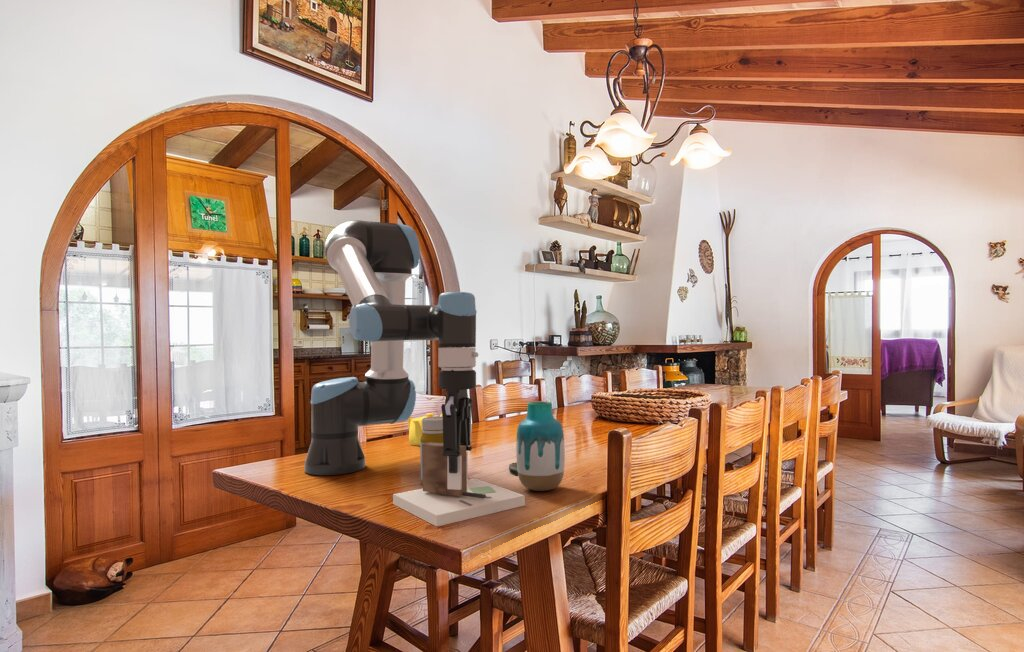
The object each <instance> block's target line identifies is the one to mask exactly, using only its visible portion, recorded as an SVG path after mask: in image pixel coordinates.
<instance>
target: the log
mask: <svg viewBox="0 0 1024 652" xmlns="http://www.w3.org/2000/svg"><path fill="white" fill-rule="evenodd" d="M508 470H509V474H511V475H514V476H517V477H519V476H518V470H517V461H516V462H512V463H509V465H508Z"/></svg>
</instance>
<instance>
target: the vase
mask: <svg viewBox="0 0 1024 652" xmlns="http://www.w3.org/2000/svg"><path fill="white" fill-rule="evenodd" d="M526 405H527V406H526V407H527V408H526V409H527V410H526V417H525V418H524V419H523V420H521V421H520V422H519V423H518V426H517V430H516V446H515V450H516V454H515V455H516V457H515V458H516V462H517V470H518V476H517V477H518V479H519V482H520V483H521V484H522V486H523V487H525V488H526V489H528V490H530V491H534V492H535V491H536V492H546V491H551V490H554V489H557V487H558V486H560V485H561V483H562V481H563V479H564V475H565V473H564V472H565V463H566V460H565V458H566V457H565V454H566V453H565V451H566V450H565V436H564V435H565V434H564V428H563V425H562V422H560V421H559V420H558V419H556V417H554V415H553V414H554V413H553V403H552V402H551V401H548V400H547V401H546V400H545V401H544V400H543V401H542V400H537V401H536V400H535V401H529V402H527V404H526Z"/></svg>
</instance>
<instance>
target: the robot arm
mask: <svg viewBox="0 0 1024 652" xmlns="http://www.w3.org/2000/svg"><path fill="white" fill-rule="evenodd" d="M324 244H325V245H324V253H325V258H326V261H327V262H328V265H329V266H330V267H331V268H332V269H333V270H334V271H336V272H337V275H338V277H339V279H340V280H341V283H342V286H343V288H344V290H345V293H346V295H347V297H348V299H349V302H350V303H351V305H352V307H351V309H350V311H349V321H348V322H349V323H348V324H349V329H350V336H351V337H352V338H353V339H354V340H355V341H358V342H360V341H361V342H366V341H367V342H370V343H371V345H370V346H371V354H370V369H369V370H368V371H367V372H365V374H364V381H362V382H361V381H359V379H358V378H357V377H355V376H349V377H348V376H347V377H338V378H333V379H329V380H324V381H319V382H318V383H315V384H314V385H313V386H312V388H311V393H310V394H311V395H310V407H311V410H310V411H311V413H310V414H311V415H310V416H311V417H310V418H311V420H310V421H311V441H310V444H309V447H308V451H307V454H306V457H305V460H304V472H305V473H306V474H307V475H314V476H335V475H336V476H337V475H344V474H351V473H355V472H358V471H359V472H360V471H361V470H363V469H365V467H366V457H365V454H364V450H363V448H362V445H361V443H360V440H359V427H365V426H375V425H386V424H389V425H393V424H396V423H397V424H398V423H403V422H405V421H408V420H407V419H408V418H409V417H411V416H412V414H413V412H414V411H415V407H416V400H417V399H416V398H417V391H416V385H415V383H414V381H413V380H412V379H410V378H409V373H408V372H407V371H406V370H405V369H404V352H405V351H404V349H405V347H404V346H405V341H438V345H437V347H438V348H437V349H438V352H437V354H438V355H437V356H438V357H437V359H438V361H437V364H438V366H437V367H439V368H440V369H441V370H439V372H438V388H439V389H440V390H446V391H447V393H446V398H445V399H444V400H445V403H442V404H441V408H440V409H441V414H442V416H443V456H447V489H454V490H461V489H462V456H460V445H466V476H467V484H468V480H469V479H468V478H469V477H468V476H469V475H468V474H469V471H468V469H469V468H468V465H469V464H468V460H469V459H468V452H469V451H470V452H471V451H472V449H473V448H472V447H473V446H471V443H472V442H471V438H472V436H471V432H472V430H471V429H472V427H471V426H472V405H473V404H472V403H473V398H471V397H469V395H468V390H473V389H475V388H476V387H477V372H476V370H475V369H473V368H476V364H477V363H476V362H477V361H476V360H477V359H476V358H478V357H479V353H478V352H477V351H476V350H477V349H476V347H477V346H476V345H477V343H476V342H477V341H476V340H477V307H476V297H475V295H474V293H472V292H468V291H467V292H466V291H448V292H447V291H446V292H442V293H440V294H439V296H438V302H437V304H436V305H435V304H434V305H433V304H432V305H431V304H406V282H407V280H408V279H409V278H410V277H411V276H412V270H413V269H416V268H417V267H418V266H419V263H420V259H421V247H420V246H421V245H420V242H419V238H418V234H417V233H416V231H415V229H413V227H412V226H411V225H410V226H409V225H406V224H401V223H398V222H397V223H396V222H382V221H381V222H380V221H379V222H378V221H371V220H370V221H367V220H362V219H361V220H359V219H358V220H357V219H354V220H349V221H346V222H343V223H341V224H339V225H338V226H336V227H335V228H334V229H333V230H332V231H331V232H330V233H329V234H328V236H327V239H326V240H325V243H324Z"/></svg>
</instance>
